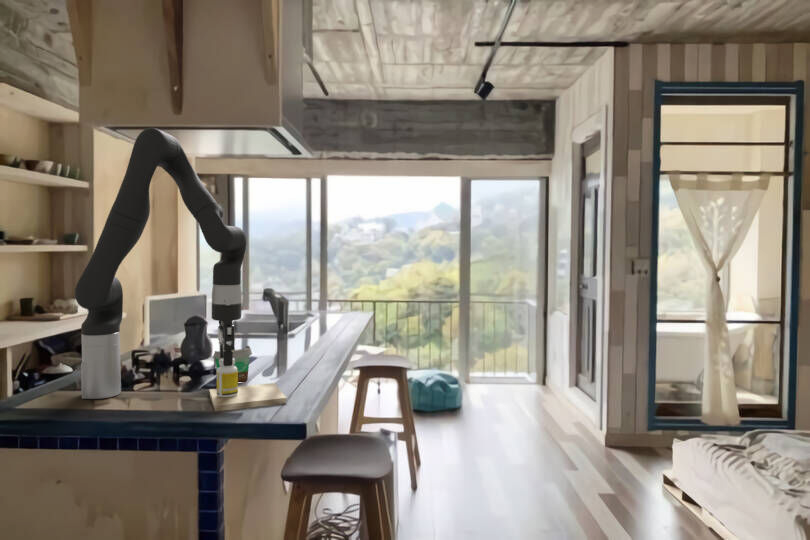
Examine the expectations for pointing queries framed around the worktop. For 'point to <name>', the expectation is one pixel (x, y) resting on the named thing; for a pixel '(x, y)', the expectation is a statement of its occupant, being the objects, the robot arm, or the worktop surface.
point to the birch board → (249, 397)
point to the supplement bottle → (227, 380)
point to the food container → (238, 362)
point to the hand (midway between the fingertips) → (226, 362)
